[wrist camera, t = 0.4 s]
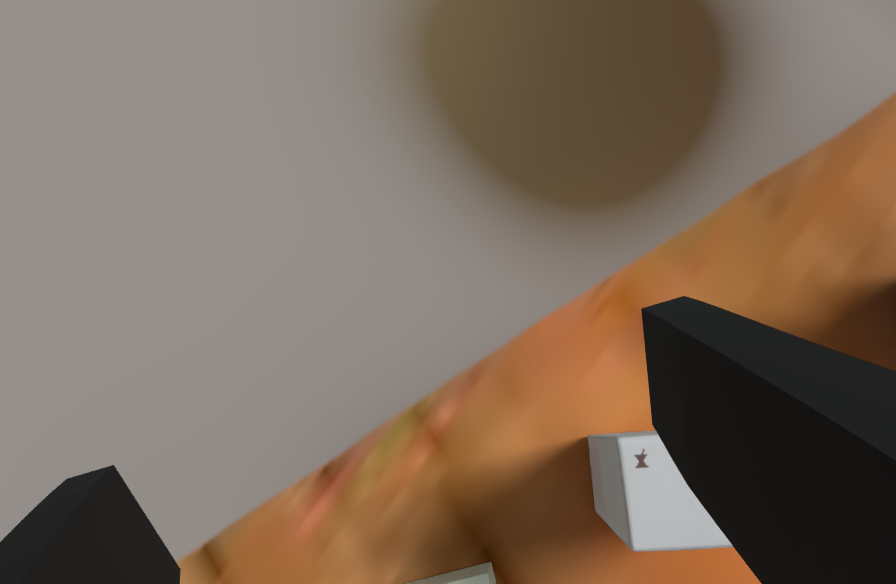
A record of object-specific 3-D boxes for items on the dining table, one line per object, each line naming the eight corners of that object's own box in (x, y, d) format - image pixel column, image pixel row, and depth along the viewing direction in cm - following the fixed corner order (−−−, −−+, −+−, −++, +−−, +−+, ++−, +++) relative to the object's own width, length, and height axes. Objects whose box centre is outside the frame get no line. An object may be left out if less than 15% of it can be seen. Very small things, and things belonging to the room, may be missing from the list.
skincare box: (594, 514, 35) (625, 554, 23) (586, 434, 36) (612, 433, 24) (710, 509, 34) (802, 547, 22) (698, 427, 35) (781, 423, 23)
